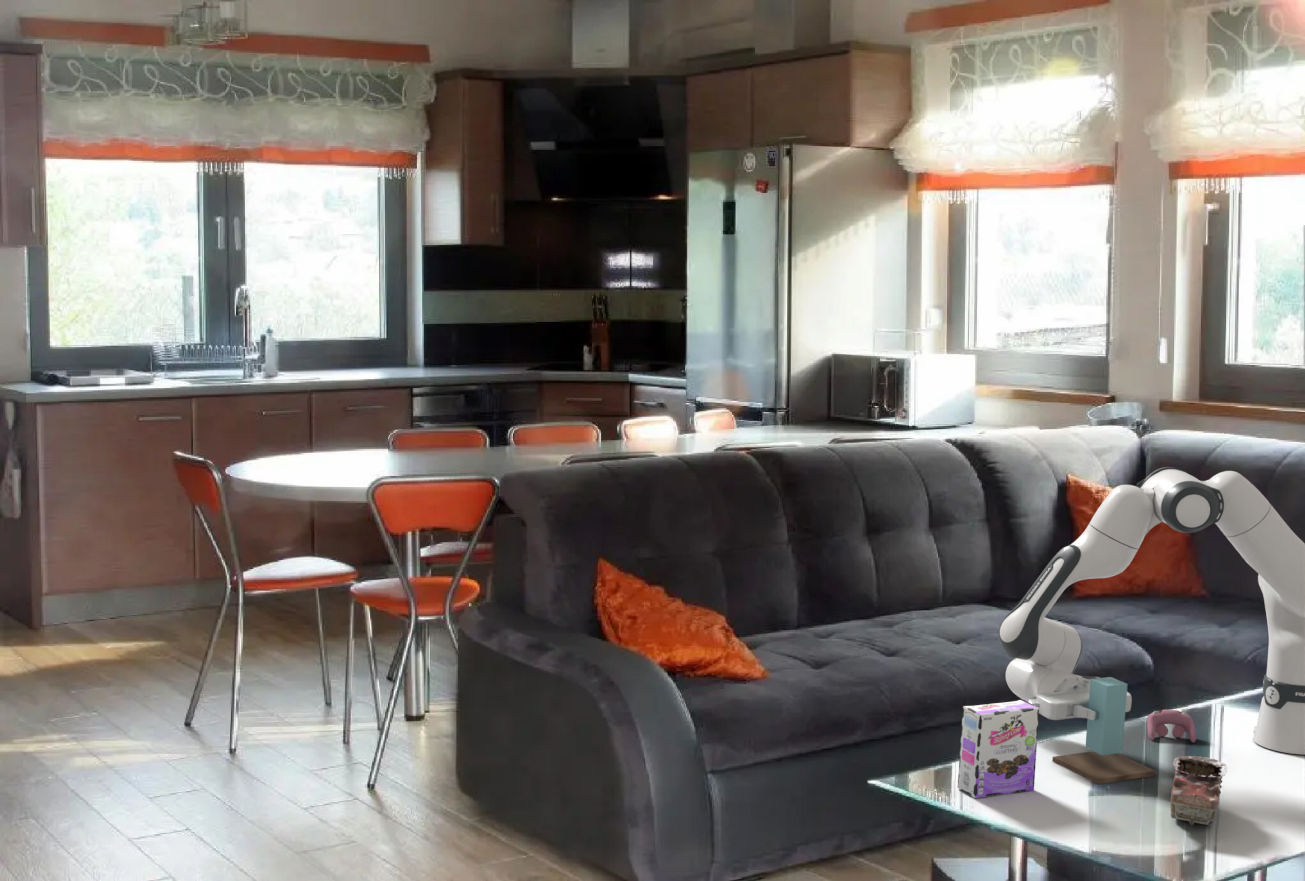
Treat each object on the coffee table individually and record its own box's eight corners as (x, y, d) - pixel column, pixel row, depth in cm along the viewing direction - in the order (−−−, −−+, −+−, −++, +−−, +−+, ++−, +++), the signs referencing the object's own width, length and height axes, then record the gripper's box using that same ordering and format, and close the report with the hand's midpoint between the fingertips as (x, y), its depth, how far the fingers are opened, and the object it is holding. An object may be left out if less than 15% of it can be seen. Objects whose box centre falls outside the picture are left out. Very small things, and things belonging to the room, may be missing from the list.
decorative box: (1247, 811, 310) (1252, 761, 309) (1232, 846, 293) (1236, 793, 291) (1174, 798, 316) (1178, 748, 315) (1154, 831, 299) (1158, 779, 297)
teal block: (1105, 745, 335) (1110, 677, 333) (1122, 752, 330) (1127, 683, 328) (1085, 747, 333) (1090, 679, 331) (1101, 755, 328) (1107, 686, 326)
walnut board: (1107, 753, 341) (1108, 749, 341) (1155, 775, 329) (1155, 770, 329) (1052, 761, 335) (1052, 756, 335) (1098, 783, 323) (1098, 778, 323)
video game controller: (1192, 745, 354) (1191, 712, 356) (1197, 742, 349) (1196, 708, 352) (1144, 742, 355) (1144, 709, 357) (1149, 739, 350) (1148, 706, 353)
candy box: (974, 799, 312) (979, 714, 310) (956, 789, 318) (961, 705, 315) (1035, 791, 318) (1040, 707, 316) (1016, 781, 323) (1021, 698, 321)
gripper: (1024, 684, 337) (1068, 703, 325) (1105, 676, 346) (1150, 694, 334) (1022, 715, 338) (1065, 735, 326) (1102, 705, 347) (1148, 725, 334)
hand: (1109, 714), depth 330 cm, fingers closed on teal block, 5 cm apart
